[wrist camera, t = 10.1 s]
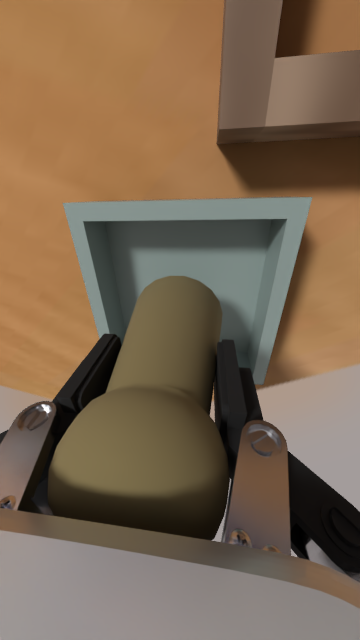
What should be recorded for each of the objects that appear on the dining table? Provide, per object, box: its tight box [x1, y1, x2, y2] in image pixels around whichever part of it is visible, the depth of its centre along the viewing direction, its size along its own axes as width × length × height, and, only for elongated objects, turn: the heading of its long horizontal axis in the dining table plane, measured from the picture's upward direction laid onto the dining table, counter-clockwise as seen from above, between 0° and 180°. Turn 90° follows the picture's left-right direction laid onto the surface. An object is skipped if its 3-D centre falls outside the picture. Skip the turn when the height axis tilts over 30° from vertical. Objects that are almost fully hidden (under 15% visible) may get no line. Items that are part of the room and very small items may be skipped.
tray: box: [63, 197, 312, 385], centre depth 17 cm, size 14×14×4 cm
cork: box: [47, 276, 230, 541], centre depth 10 cm, size 6×6×11 cm
